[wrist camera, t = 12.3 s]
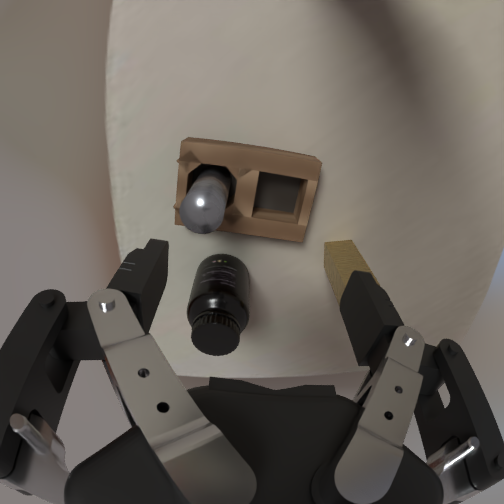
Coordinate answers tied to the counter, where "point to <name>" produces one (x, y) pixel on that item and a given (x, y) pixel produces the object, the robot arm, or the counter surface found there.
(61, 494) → the robot arm
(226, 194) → the cylinder
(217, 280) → the supplement bottle
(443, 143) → the counter surface
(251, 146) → the bore block
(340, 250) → the square bit
